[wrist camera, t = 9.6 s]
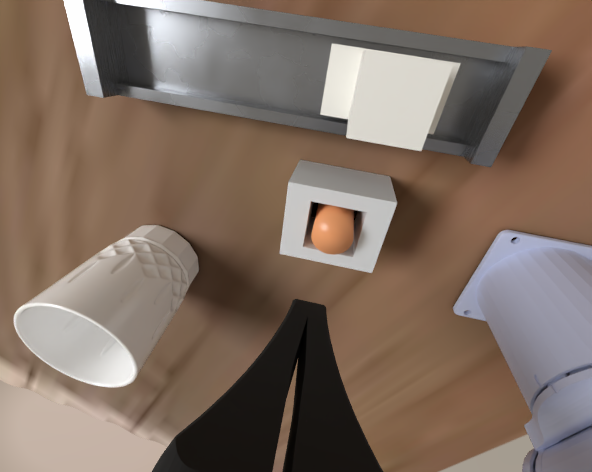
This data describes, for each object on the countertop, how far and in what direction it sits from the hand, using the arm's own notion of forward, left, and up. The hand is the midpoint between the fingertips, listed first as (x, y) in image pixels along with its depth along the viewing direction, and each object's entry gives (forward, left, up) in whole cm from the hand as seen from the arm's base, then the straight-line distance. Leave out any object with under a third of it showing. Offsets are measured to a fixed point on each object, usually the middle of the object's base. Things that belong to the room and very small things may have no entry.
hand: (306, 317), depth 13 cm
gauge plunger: (-1, -1, -10) cm, 10 cm away
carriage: (-2, -8, -9) cm, 12 cm away
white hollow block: (-1, -1, -10) cm, 10 cm away
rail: (+3, -8, -10) cm, 14 cm away
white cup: (+13, +8, -10) cm, 19 cm away
